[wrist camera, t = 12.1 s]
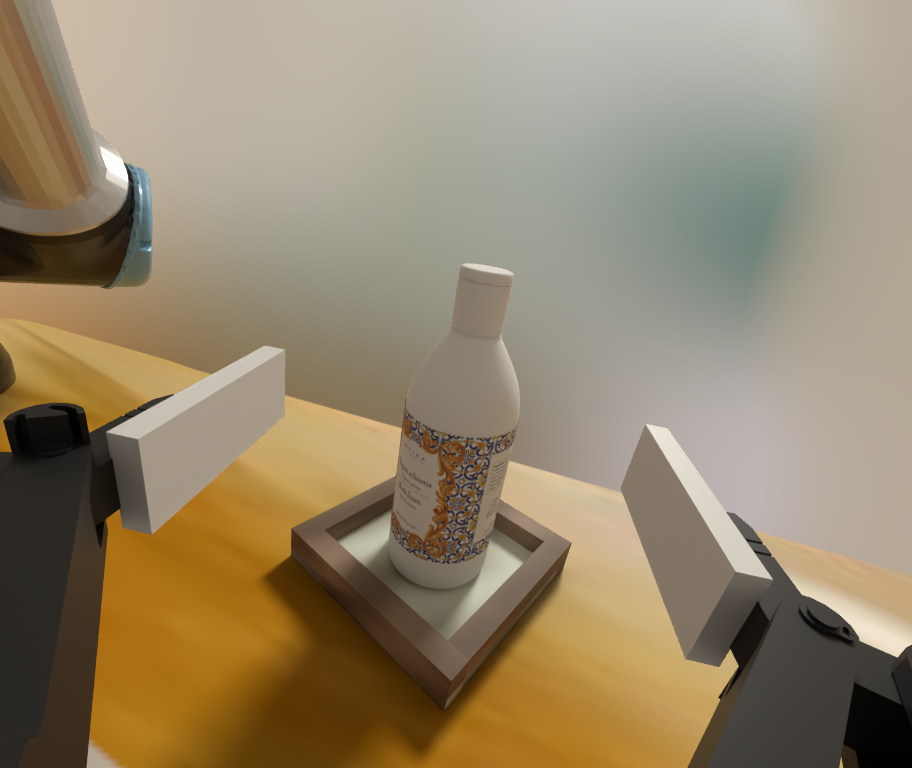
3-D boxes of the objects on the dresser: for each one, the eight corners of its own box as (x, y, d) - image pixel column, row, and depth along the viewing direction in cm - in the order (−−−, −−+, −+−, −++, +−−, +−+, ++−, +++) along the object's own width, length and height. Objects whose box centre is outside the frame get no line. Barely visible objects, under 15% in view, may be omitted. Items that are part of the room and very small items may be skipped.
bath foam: (367, 541, 31) (397, 253, 23) (441, 508, 35) (486, 258, 28) (427, 612, 26) (488, 282, 18) (503, 564, 31) (577, 283, 23)
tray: (291, 554, 29) (291, 528, 29) (428, 478, 40) (431, 458, 39) (444, 710, 22) (451, 681, 21) (563, 566, 32) (571, 543, 32)
